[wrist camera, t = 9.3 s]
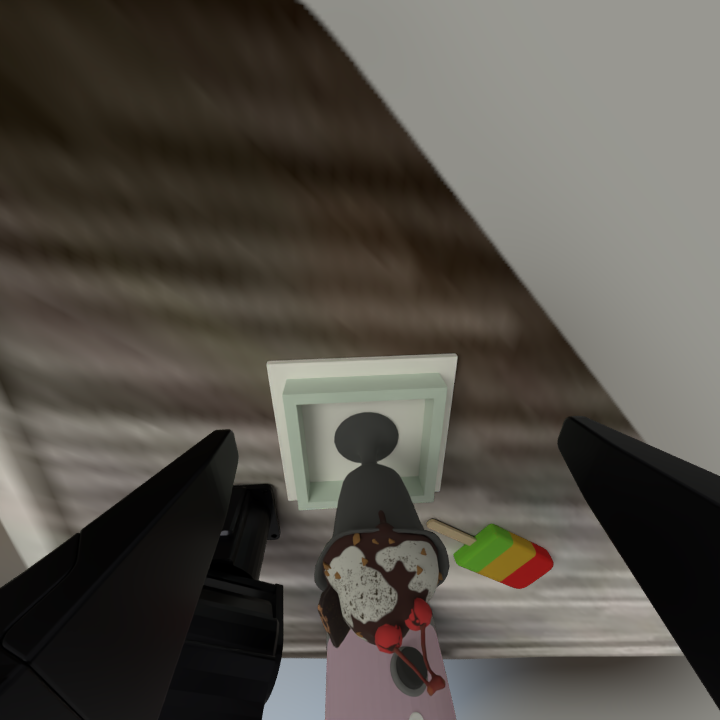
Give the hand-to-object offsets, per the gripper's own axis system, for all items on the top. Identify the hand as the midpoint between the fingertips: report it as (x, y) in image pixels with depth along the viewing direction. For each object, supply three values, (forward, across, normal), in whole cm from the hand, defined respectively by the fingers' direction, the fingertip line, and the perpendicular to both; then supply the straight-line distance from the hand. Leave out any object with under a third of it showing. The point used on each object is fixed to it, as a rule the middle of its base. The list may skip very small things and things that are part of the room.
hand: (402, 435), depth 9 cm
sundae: (+13, 0, +11) cm, 17 cm away
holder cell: (+13, 0, +11) cm, 17 cm away
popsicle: (+14, -12, +26) cm, 32 cm away
